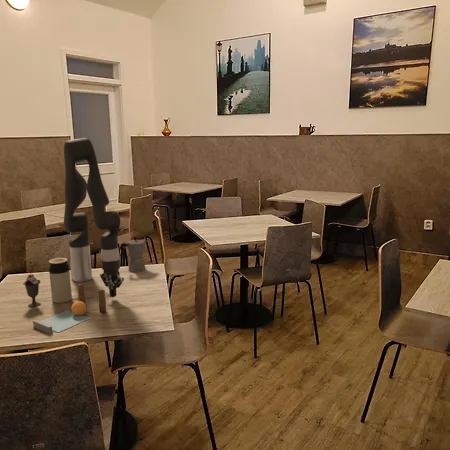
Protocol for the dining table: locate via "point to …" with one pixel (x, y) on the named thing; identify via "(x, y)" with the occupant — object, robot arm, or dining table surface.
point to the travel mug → (60, 280)
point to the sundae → (32, 289)
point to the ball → (78, 308)
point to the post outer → (102, 301)
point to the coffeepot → (135, 254)
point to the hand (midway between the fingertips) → (113, 296)
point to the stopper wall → (42, 326)
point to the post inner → (81, 293)
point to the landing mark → (64, 321)
